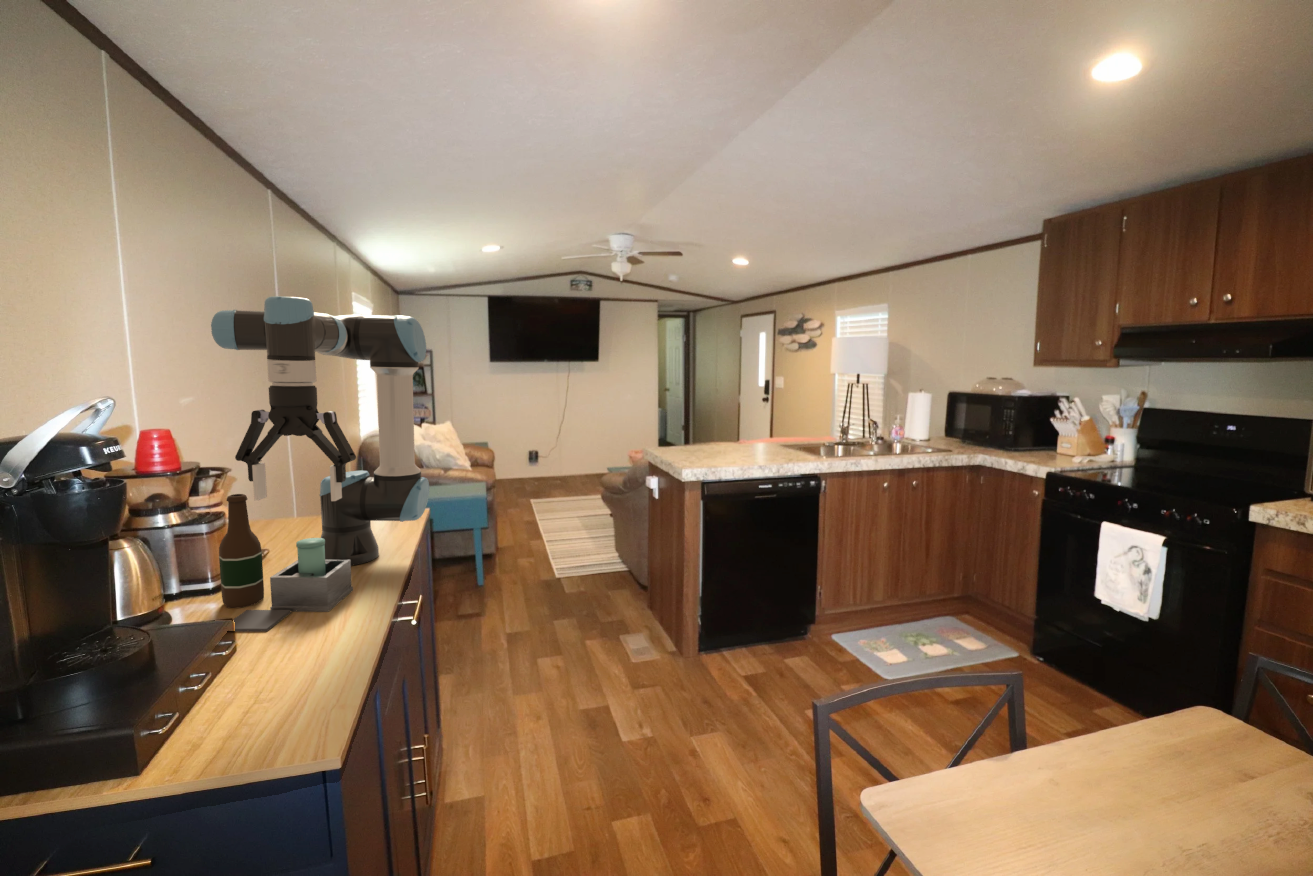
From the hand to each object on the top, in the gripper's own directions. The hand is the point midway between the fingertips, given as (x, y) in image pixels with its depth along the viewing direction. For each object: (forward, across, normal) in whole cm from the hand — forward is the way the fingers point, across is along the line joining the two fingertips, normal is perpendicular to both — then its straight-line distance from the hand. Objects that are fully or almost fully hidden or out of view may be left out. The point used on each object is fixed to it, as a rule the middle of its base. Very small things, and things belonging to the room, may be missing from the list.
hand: (298, 499), depth 113 cm
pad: (+28, -14, +9) cm, 33 cm away
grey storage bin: (+28, -8, +20) cm, 35 cm away
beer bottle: (+28, -23, +19) cm, 41 cm away
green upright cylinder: (+24, -8, +20) cm, 33 cm away
